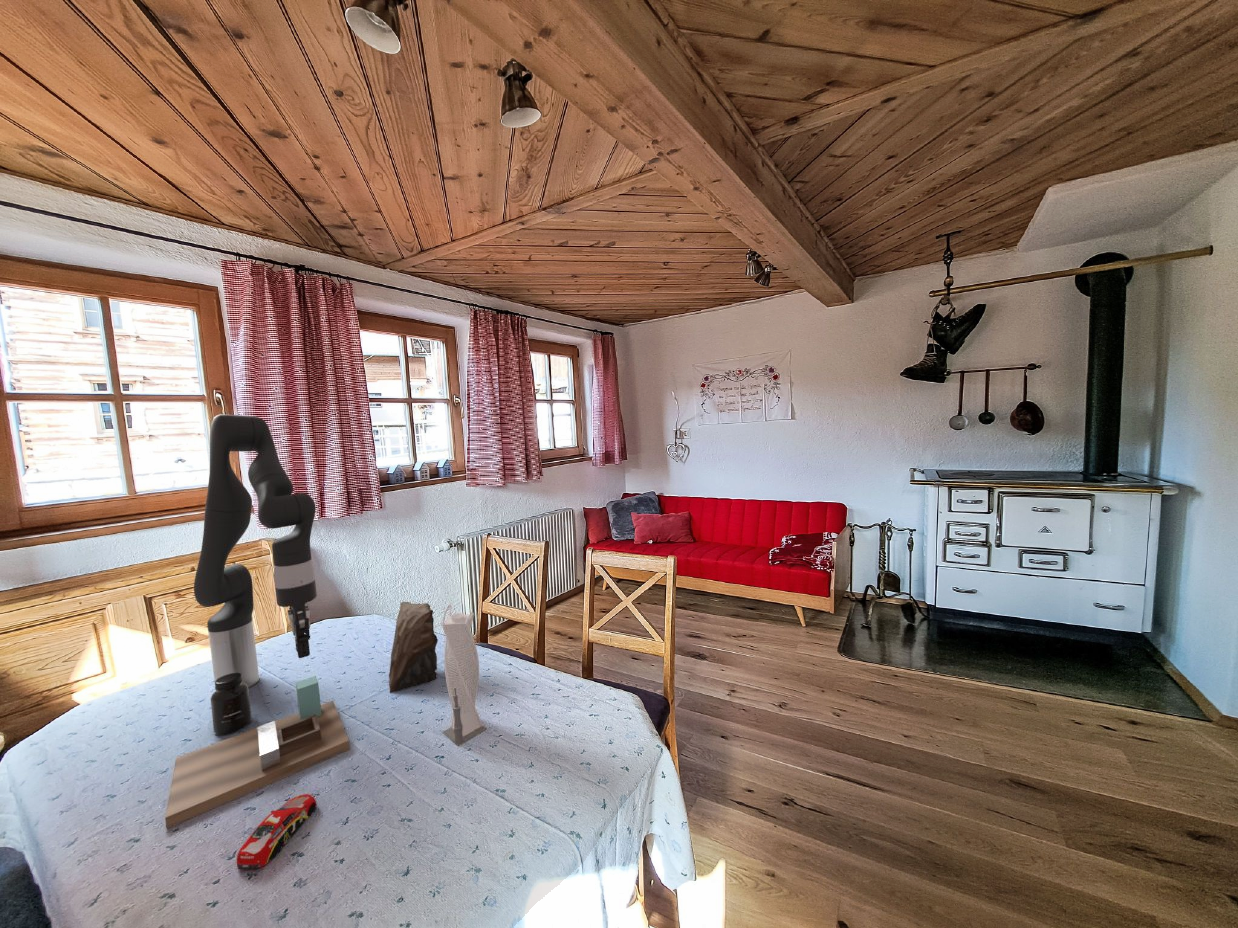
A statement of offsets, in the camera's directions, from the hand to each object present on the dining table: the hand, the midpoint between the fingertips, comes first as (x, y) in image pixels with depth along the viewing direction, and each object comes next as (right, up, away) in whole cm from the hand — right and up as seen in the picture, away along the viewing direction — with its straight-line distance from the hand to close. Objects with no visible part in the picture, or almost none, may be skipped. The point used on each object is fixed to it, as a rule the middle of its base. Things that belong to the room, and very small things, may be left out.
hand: (303, 653), depth 106 cm
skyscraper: (+39, -16, -3) cm, 42 cm away
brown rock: (+16, -15, +19) cm, 29 cm away
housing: (-1, -18, -10) cm, 21 cm away
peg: (+1, -15, +1) cm, 15 cm away
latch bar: (0, -16, -11) cm, 19 cm away
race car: (+16, -19, -29) cm, 38 cm away
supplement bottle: (-18, -18, +2) cm, 25 cm away
